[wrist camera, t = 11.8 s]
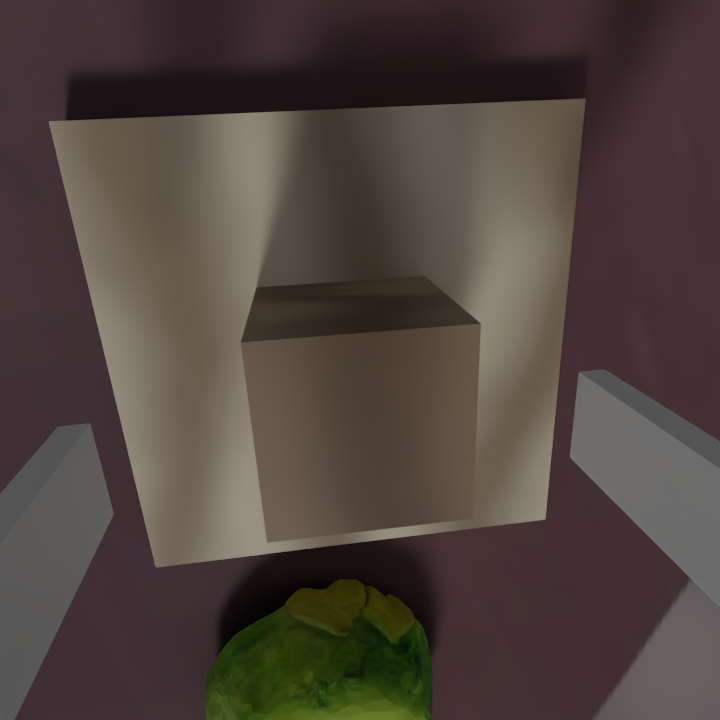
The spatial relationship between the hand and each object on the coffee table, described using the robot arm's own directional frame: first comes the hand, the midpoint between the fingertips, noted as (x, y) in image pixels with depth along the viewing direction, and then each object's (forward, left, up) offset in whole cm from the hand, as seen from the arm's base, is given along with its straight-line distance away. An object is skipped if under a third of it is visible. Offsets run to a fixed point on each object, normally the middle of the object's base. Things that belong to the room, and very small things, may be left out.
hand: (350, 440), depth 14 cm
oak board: (0, 0, -7) cm, 7 cm away
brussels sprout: (-2, -17, -7) cm, 19 cm away
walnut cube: (0, 0, -6) cm, 6 cm away
